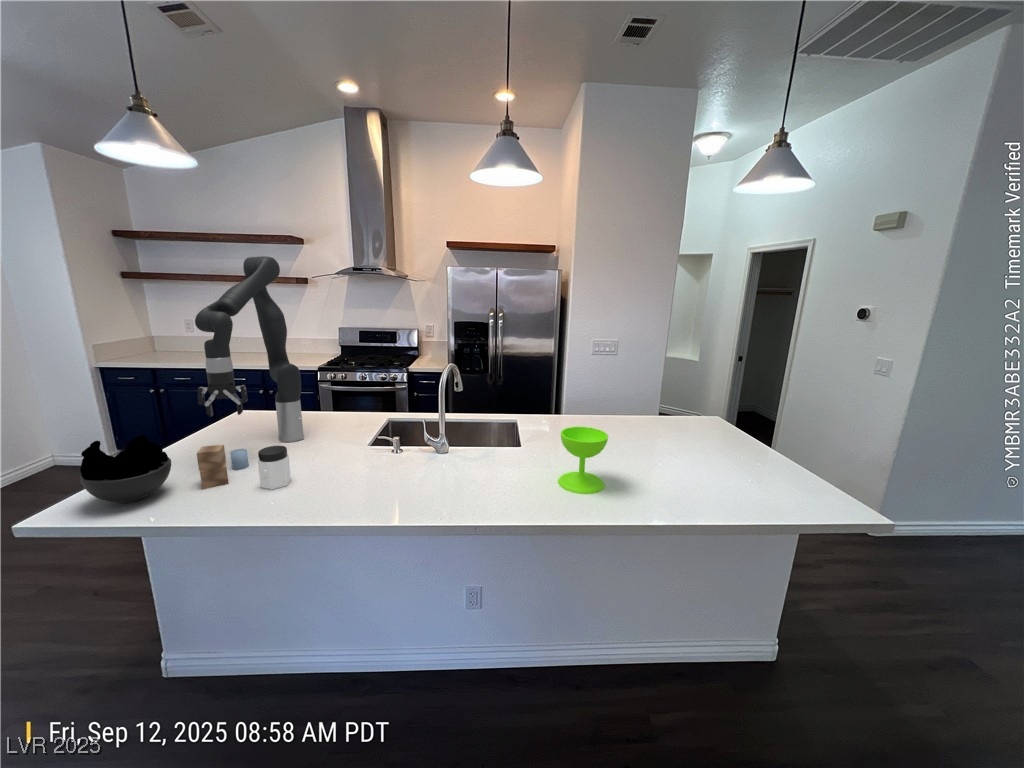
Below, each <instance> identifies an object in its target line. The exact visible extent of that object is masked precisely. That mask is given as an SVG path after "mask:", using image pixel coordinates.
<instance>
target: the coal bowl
mask: <svg viewBox="0 0 1024 768" xmlns="http://www.w3.org/2000/svg"><path fill="white" fill-rule="evenodd" d="M101 445H102V444H101V441H100V440H94V441H93V442H91V443H90V445H89V446H87V447H86V448H85V449H84V450H82V452H81V454H80V456H81V457H83V459H81V465H80V474H81V475H80V476H79V481H80V483H81V485H82V486H83V488H84V489H85V491H87V492H88V493H89V494H90V495H91V496H93V497H94V498H97V500H101V501H104V502H110V503H119V504H120V503H130V502H134V501H138V500H141V499H143V498H146V497H148V496H150V495H151V494H153V493H154V492H156V491H157V490H158V489H160V488H161V487H162V486H163V484H164V483H165V482H166V480H167V479H168V478H169V475H170V474H171V473H170V472H171V468H172V459H171V458H170V457H169V456H168V454H167V451H164V450H163V448H162V447H161V445H160V444H158V443H157V442H156V443H155V442H153V441H150V440H149V439H148V436H146V435H143V434H142V435H138V436H136V437H135V438H134V439H132V440H130V441H129V443H127V444H126V445H125V447H126V448H124V449H123V450H120V451H119V452H118V453H117V454H116V455H115V456H114V455H109V454H107V453H106V452H105V451H103V450H101Z"/></svg>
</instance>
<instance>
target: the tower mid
mask: <svg viewBox="0 0 1024 768" xmlns="http://www.w3.org/2000/svg"><path fill="white" fill-rule="evenodd" d="M196 459H197V466H198V471H199V472H200V471H202V470H211V469H220V468H222V467H223V465H224V464H225V462H227V460H226V459H227V458H226V451H225V445H224V444H215V445H205V446H201V447H200V449H199V450H198V451H197V452H196Z"/></svg>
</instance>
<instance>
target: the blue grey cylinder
mask: <svg viewBox="0 0 1024 768" xmlns="http://www.w3.org/2000/svg"><path fill="white" fill-rule="evenodd" d="M230 460H231V467H232V470H234V471H239V470H245V469H247V468H249V467H250V465H249V464H250V463H249V456H248V450H247V449H246V448H238V449H237V448H236V449H234V450H231V451H230Z"/></svg>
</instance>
